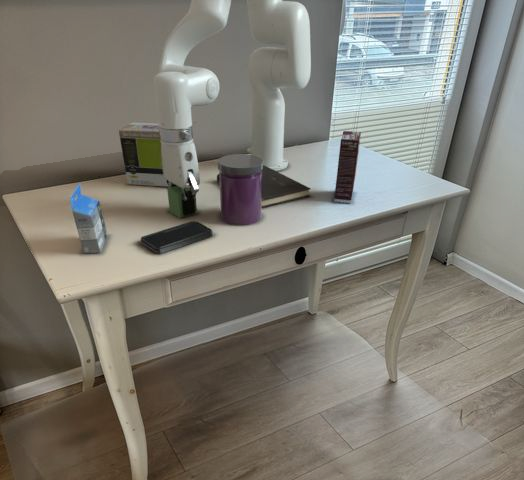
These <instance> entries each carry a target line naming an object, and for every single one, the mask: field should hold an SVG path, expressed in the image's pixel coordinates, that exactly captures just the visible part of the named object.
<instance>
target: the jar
mask: <svg viewBox="0 0 524 480" xmlns="http://www.w3.org/2000/svg"><path fill="white" fill-rule="evenodd" d="M262 169H263V160H262V159H261V158H260V157H257V156H254V155H251V154H249V153H234V154H233V153H232V154H228V155H224V156H221V157H220V158H218V159H217V170H218V172H219V173H218V174H219V180H220V182H219V200H220V203H219V204H220V219H221V220H222V221H223V222H225V223H226V224H229V225H233V226H234V225H235V226H249V225H252V224H253V225H254V224H256V223H258V222H260V221H261V220H262V211H263V208H262V171H261V170H262Z"/></svg>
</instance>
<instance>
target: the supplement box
mask: <svg viewBox="0 0 524 480" xmlns="http://www.w3.org/2000/svg"><path fill="white" fill-rule="evenodd" d="M361 133H362V132H361V131H353V130H352V131H351V130H343V131H342V136H341V138H340V144H339V152H338V153H339V154H338V161H337V170H336V171H337V172H336V179H335V180H336V181H335V187H334V199H333V202H334V203H340V204H352V199H353V193H354V188H355V181H356V174H357V165H358V160H359V151H360V145H361Z"/></svg>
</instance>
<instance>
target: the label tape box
mask: <svg viewBox="0 0 524 480" xmlns="http://www.w3.org/2000/svg"><path fill="white" fill-rule="evenodd" d="M69 202H70V208H71V212H72V216H73V219H74V223H75V226H76V227H75V228H76V231H77V234H78V238H79V242H80V245H81V249H82V252H83V254H100V253H102V250H103V247H104V245H105V242H106V239H107V237H108V233H107V227H106V225H105V220H104V214H103V212H102V211H103V210H102V207H101V203H100V200H98V199H96V198H93V197H90V196H87V195H85V194H82V188H81V182H80V183H78V185H77V186H76V187H75V189H74V191H72V194H71V195H70V197H69Z"/></svg>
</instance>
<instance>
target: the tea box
mask: <svg viewBox="0 0 524 480" xmlns="http://www.w3.org/2000/svg"><path fill="white" fill-rule="evenodd" d="M118 135H119V140H120V141H119V142H120V146H121V147H120V148H121V153H122V159H123V165H124V172H125V175H126V176H125V178H126V182H127V183H126V184H127V185H135V186H151V187H167V188H168V184H167V182H166V178H165V177H164V174H163V167H162V155H161V142H160V134H159V125H158V122H143V121H142V122H141V121H140V122H139V121H131V122H130V123H129V124H127V125H125V126H123V127H122V128H120V129H119V130H118Z"/></svg>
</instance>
